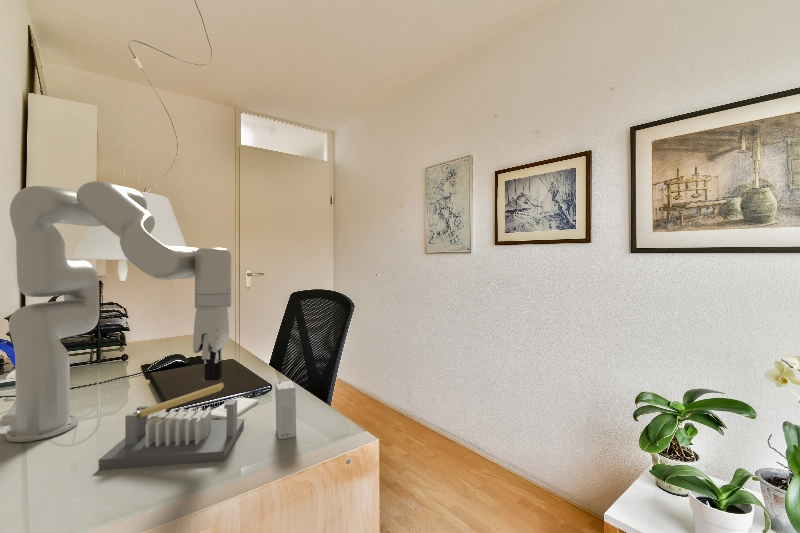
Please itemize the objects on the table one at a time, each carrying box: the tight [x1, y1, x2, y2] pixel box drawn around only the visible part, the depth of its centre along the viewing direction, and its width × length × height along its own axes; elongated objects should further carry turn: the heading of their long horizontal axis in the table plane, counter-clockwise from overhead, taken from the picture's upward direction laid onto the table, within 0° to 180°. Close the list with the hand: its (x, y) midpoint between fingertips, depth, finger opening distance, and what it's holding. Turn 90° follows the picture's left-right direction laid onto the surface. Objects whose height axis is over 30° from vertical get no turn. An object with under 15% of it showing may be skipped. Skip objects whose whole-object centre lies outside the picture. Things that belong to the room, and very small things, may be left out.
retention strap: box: [132, 382, 225, 419], centre depth 83 cm, size 20×3×2 cm, turn 99°
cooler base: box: [98, 399, 245, 470], centre depth 83 cm, size 24×16×10 cm, turn 99°
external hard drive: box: [211, 397, 260, 420], centre depth 103 cm, size 2×8×12 cm
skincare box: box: [274, 380, 297, 440], centre depth 90 cm, size 6×4×12 cm
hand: (213, 379), depth 84 cm, fingers closed
